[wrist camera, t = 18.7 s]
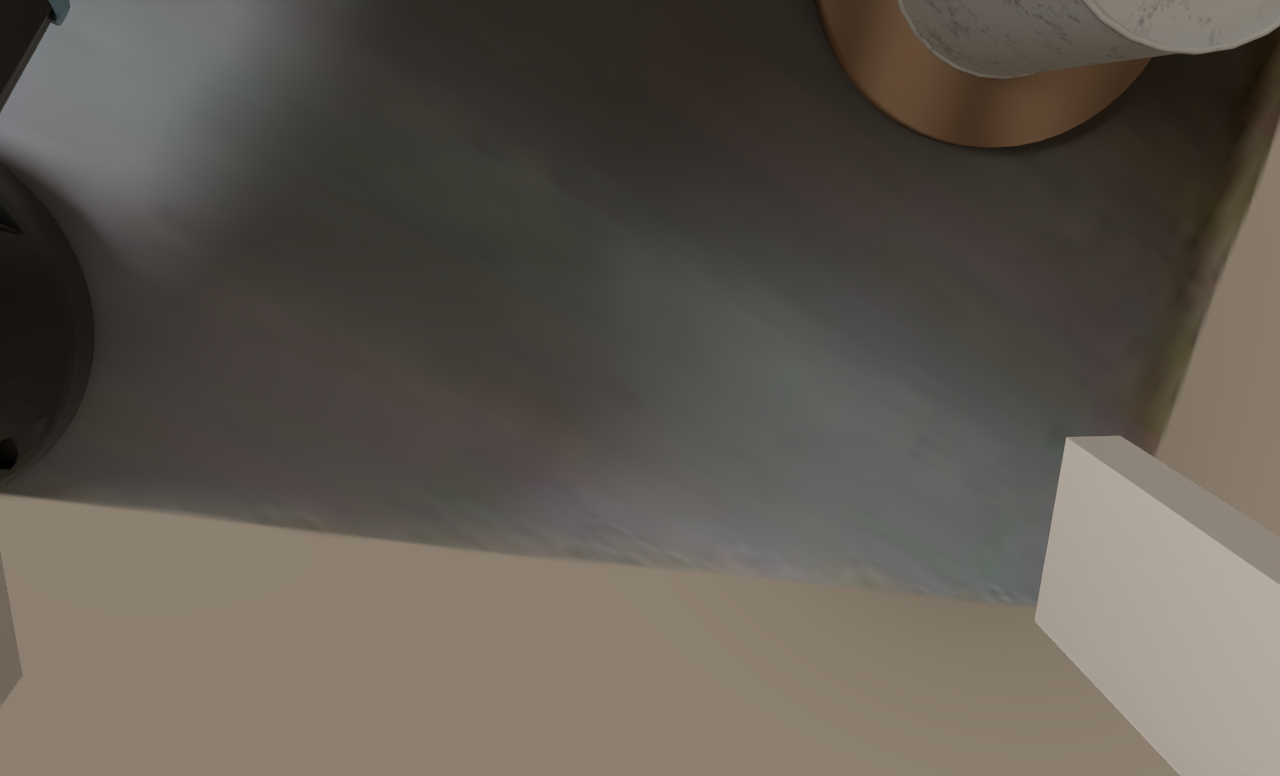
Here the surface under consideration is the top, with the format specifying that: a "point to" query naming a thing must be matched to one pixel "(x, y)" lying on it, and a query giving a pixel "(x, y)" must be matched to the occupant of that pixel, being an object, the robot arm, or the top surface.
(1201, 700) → the robot arm
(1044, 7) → the white speckled cylinder
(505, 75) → the top surface
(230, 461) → the top surface
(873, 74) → the walnut board
